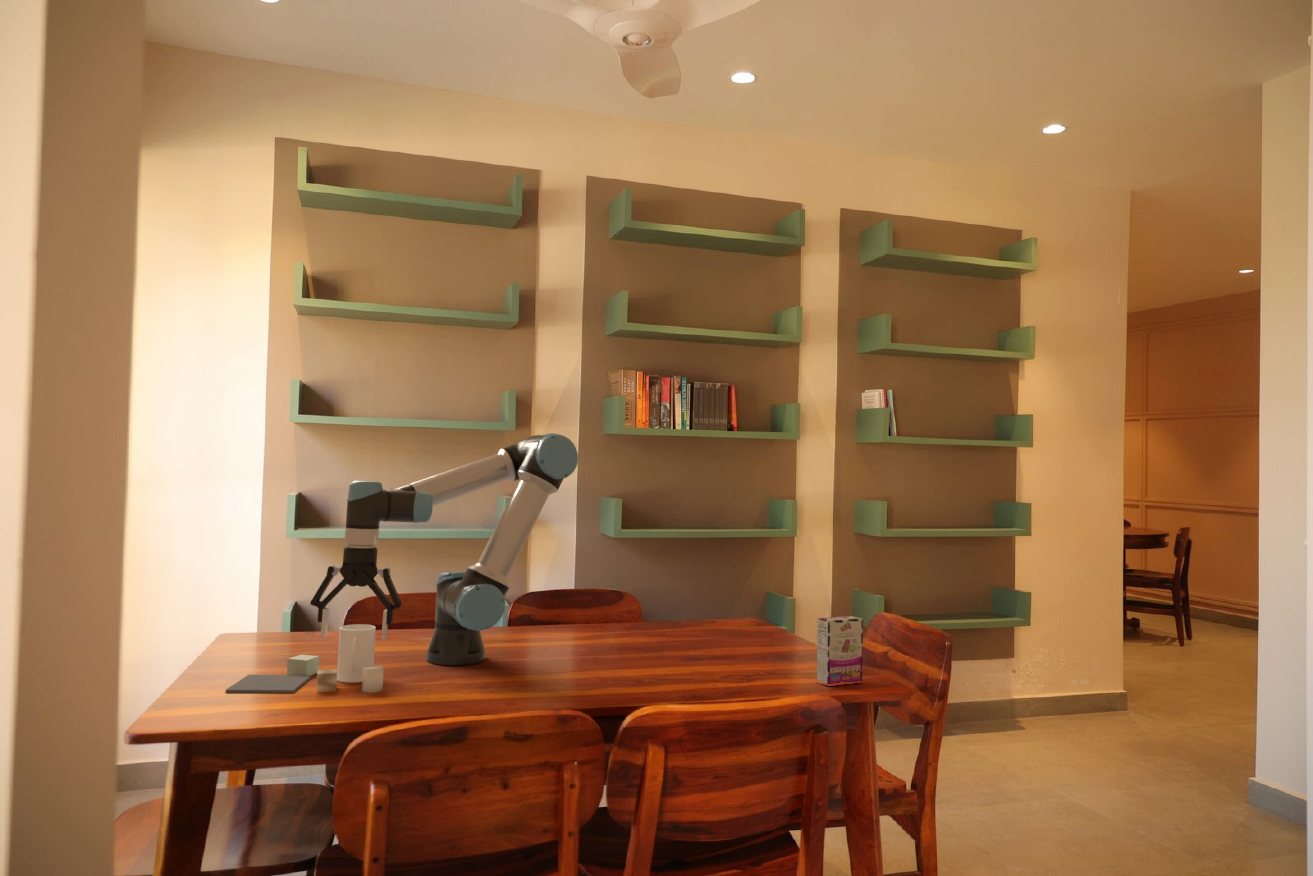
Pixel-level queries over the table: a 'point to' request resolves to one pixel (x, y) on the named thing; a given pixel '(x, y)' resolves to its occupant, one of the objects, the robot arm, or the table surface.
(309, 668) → the sage block
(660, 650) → the table surface
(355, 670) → the mug
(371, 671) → the beige rounded block
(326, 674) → the maple block
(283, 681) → the coaster
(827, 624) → the candy bar box
